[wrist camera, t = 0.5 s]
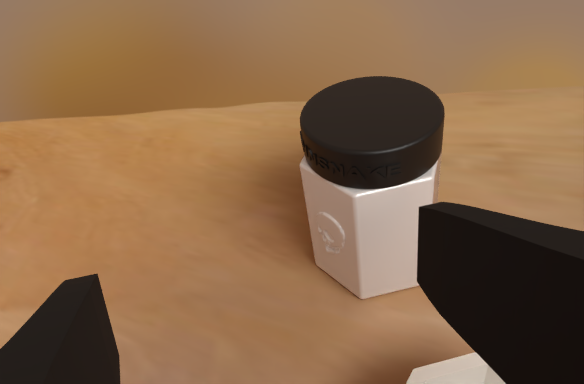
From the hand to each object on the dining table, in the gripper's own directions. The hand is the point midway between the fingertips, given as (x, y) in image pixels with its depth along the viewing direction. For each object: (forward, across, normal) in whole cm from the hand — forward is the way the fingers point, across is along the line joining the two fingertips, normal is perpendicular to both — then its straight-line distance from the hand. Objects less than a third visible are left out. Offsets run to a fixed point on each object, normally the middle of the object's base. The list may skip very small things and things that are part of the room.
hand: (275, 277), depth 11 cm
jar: (+19, -12, +12) cm, 26 cm away
